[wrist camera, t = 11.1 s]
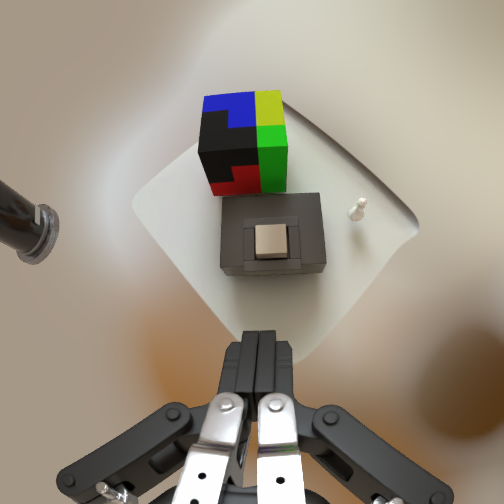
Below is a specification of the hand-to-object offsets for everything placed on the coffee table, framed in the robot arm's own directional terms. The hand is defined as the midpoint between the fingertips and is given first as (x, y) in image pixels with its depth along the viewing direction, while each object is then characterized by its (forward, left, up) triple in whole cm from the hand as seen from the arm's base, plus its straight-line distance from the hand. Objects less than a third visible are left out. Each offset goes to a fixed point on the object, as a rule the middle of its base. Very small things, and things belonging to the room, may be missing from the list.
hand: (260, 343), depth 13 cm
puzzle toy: (-3, +25, -22) cm, 34 cm away
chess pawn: (+11, +17, -22) cm, 30 cm away
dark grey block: (0, +13, -22) cm, 26 cm away
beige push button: (0, +11, -16) cm, 20 cm away
